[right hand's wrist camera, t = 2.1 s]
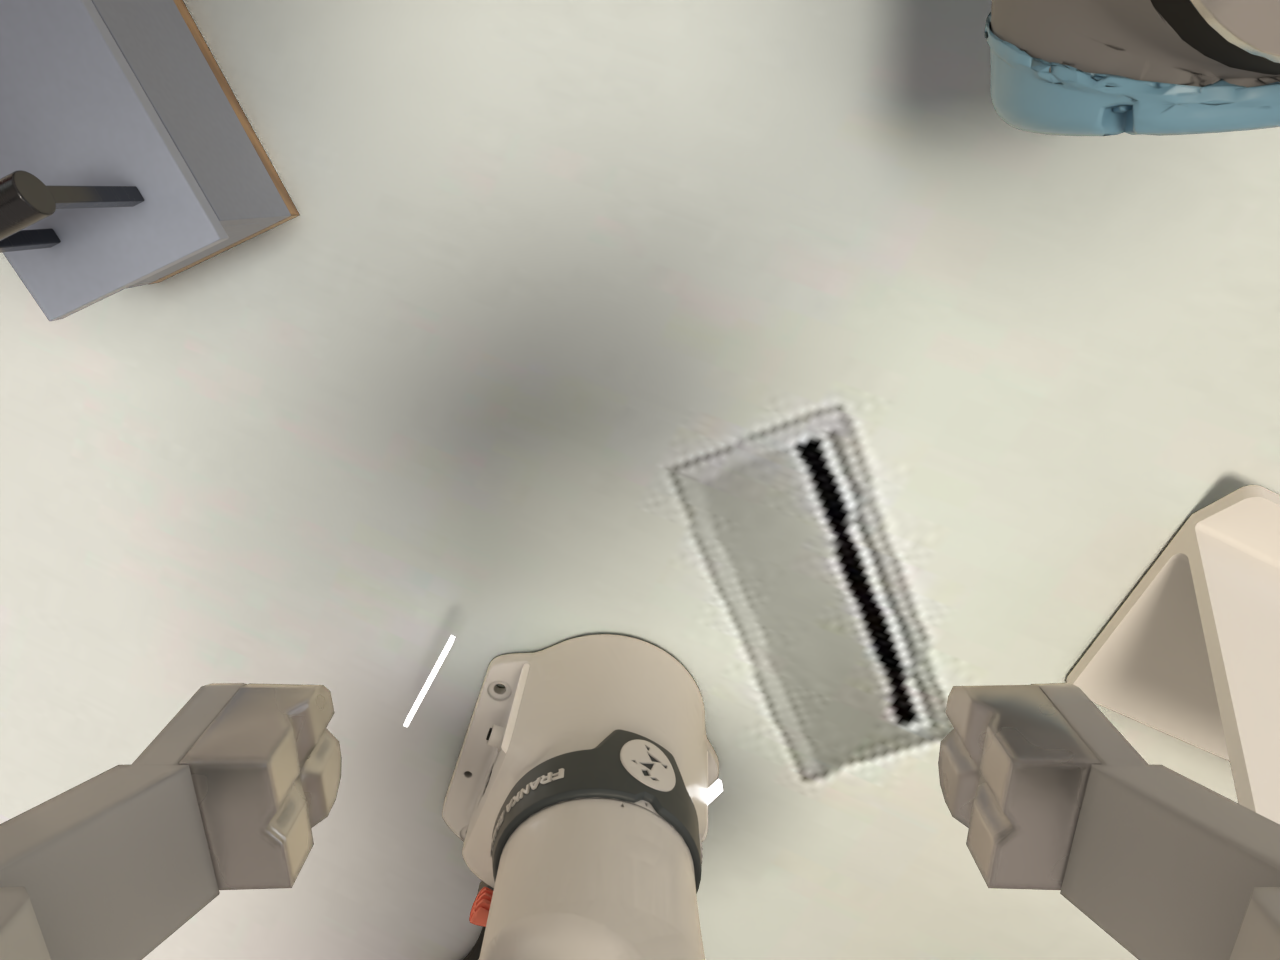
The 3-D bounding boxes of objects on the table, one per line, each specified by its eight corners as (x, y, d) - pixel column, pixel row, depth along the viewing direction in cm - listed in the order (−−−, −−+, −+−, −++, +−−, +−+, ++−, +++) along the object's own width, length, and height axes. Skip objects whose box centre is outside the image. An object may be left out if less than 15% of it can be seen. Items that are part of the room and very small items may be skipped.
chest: (299, 215, 46) (220, 220, 37) (159, 282, 47) (51, 303, 38) (144, -70, 41) (12, -139, 32) (-7, 14, 42) (-174, -31, 34)
